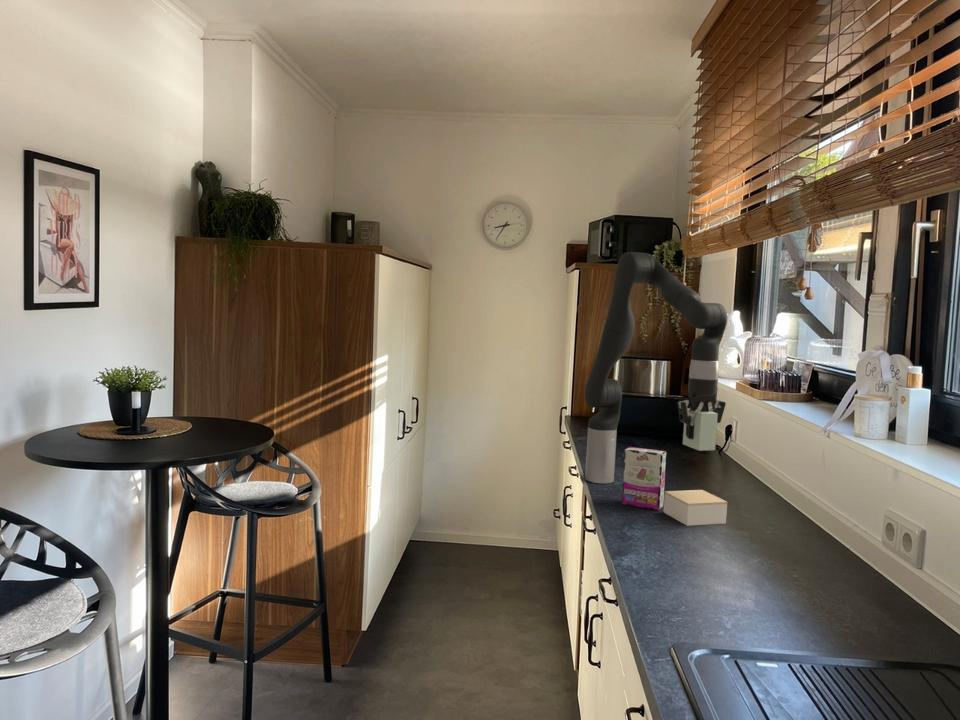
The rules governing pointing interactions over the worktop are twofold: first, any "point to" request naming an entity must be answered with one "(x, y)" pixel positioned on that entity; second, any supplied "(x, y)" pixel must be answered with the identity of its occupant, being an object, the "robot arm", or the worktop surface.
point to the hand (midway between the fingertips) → (699, 438)
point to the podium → (695, 507)
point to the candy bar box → (644, 478)
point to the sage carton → (702, 431)
